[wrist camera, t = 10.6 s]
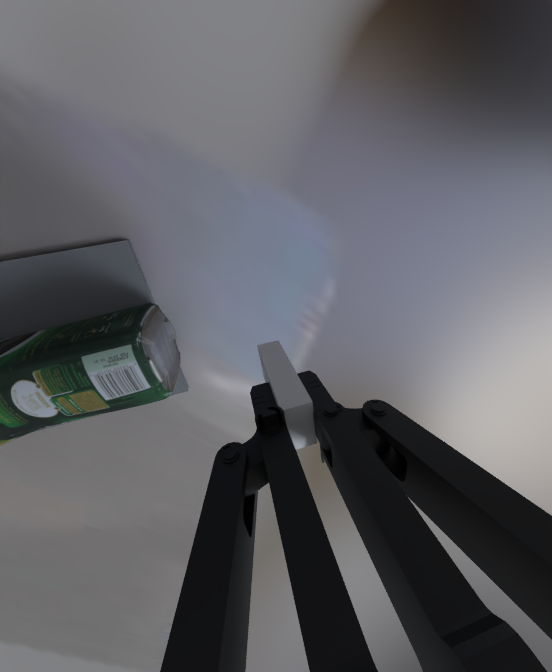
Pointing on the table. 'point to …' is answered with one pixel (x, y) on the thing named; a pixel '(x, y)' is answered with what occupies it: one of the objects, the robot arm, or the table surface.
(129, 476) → the table surface
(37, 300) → the rubber mat
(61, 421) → the coffee jar
